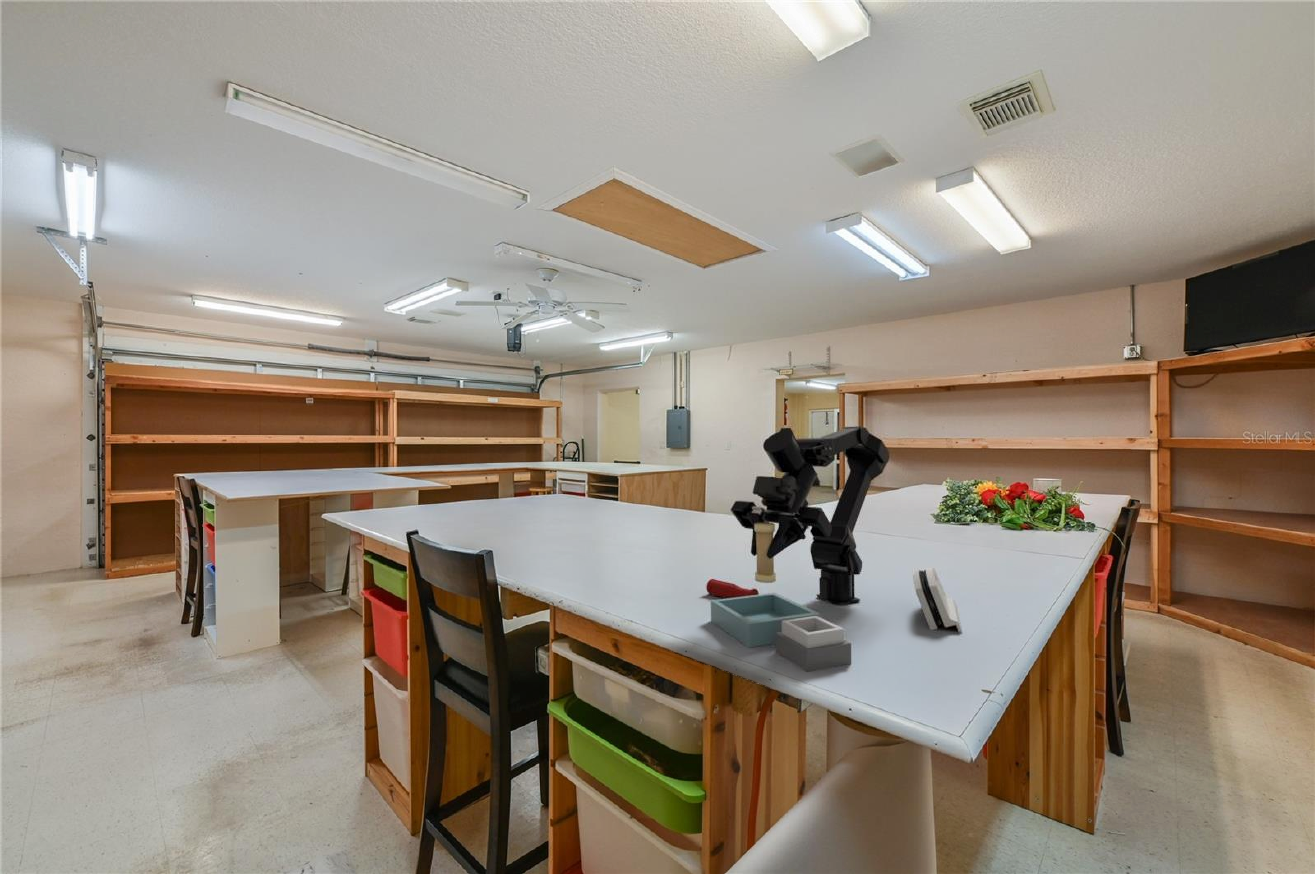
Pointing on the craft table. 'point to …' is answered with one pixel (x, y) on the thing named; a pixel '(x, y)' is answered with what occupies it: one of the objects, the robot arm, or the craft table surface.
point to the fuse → (764, 552)
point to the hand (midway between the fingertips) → (760, 555)
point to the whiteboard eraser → (935, 600)
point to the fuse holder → (813, 643)
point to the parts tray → (756, 616)
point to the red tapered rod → (728, 589)
